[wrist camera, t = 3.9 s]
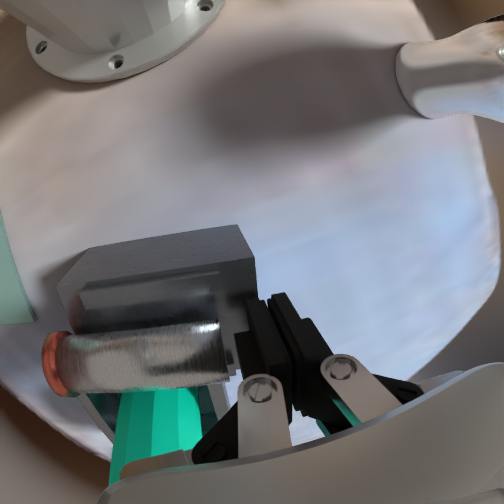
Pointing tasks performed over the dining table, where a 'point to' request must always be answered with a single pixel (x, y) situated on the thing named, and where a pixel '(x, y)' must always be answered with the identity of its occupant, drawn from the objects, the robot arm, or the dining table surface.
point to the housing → (162, 297)
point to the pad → (11, 287)
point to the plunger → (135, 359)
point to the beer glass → (456, 73)
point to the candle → (154, 425)
